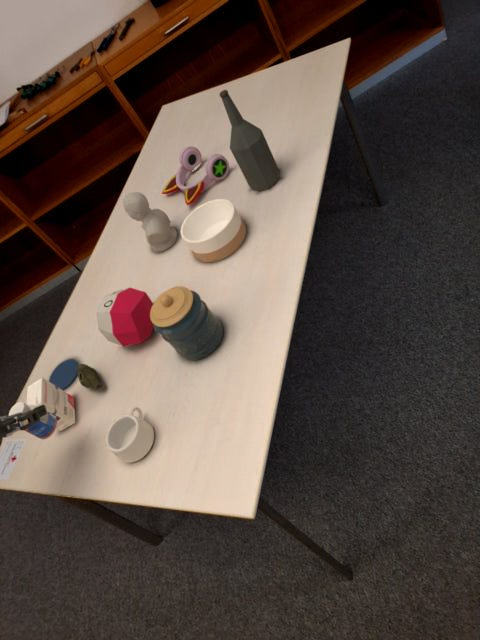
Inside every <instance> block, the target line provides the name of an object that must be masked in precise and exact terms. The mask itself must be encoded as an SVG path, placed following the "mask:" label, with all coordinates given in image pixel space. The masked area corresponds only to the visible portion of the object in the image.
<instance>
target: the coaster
mask: <svg viewBox="0 0 480 640" xmlns="http://www.w3.org/2000/svg"><path fill="white" fill-rule="evenodd" d="M78 365H80V363H79V362H78V361H77V360H75V359H71V358H69V359H66V360H64V361H62V362H60V363H59V364H58V365H57V366H56V367H55V368H54V369H53V371H52V372H51V374H50V377H49V380H48V381H49V382H51V383H52V384H54V385H55V386H57V387H58V388H60V389H61V390H63V391H64V390H67V389H68V388H69V387H70V386H72V384H73V383H74V382H75V380H76V379H77V378H78V373H77V369H78Z"/></svg>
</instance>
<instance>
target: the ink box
mask: <svg viewBox="0 0 480 640" xmlns="http://www.w3.org/2000/svg"><path fill="white" fill-rule="evenodd" d="M26 404H27V405H30V404H31V405H35V406H36V407H38V406H41V405H45V407H46V410H47V413H48V414H50V415H52V416H53V417H55V418H56V419H57V428H56V431H59V432H62V431H63V430H66V428H68V427H70V426H72V425H74V424H75V423H76V411H75V410H76V409H75V397H74V396H73V395H71V394H70V393H68V392H66V391H64V390H61V389H60V388H58V387H57V386H55V385H54V384H52V383H51V382H49V380H47V379H46V378H44V377H40V378H39V379H37V380H36V381H35V382H33V383H30V385H28V386H27V391H26Z"/></svg>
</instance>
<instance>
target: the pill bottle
mask: <svg viewBox="0 0 480 640" xmlns="http://www.w3.org/2000/svg"><path fill="white" fill-rule="evenodd" d="M34 408H36V406H35V405H31V404H30V405H27V403H26V402H25V403H24V402H23V401H19V402H16V403H15V404H14V405H13V406H12V407H11V408H10V410H9V411H8V412H9V413H8V416H10V415H13V414H15V413H19V412H21V413H24V412H27V411H28V410H32V409H34ZM14 418H15V419H16V421H17V417H14ZM56 428H57V419H56V418H55V417H53V416H52V415H50V414H48V413H47V414H46V415H44V416H42V417H40V421H39V422H37V423H35V424H33V425H32V426H30V427H28V428H27V429H25V430H23V431H25V432H26V433H29V434H30V435H32V436H33V437H36V438H37V439H40V440H47V439H49V438H50V437H51V436H52V435H53V434H55V431H57V429H56Z"/></svg>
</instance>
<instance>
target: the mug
mask: <svg viewBox="0 0 480 640" xmlns="http://www.w3.org/2000/svg"><path fill="white" fill-rule="evenodd" d="M135 411H137V413H138V417H137V416H135V415H134V414H135ZM154 431H155V430H154V429H153V426H152V425H151V424H150V423H149V422H147V421H146V420H144V419H143V411H142V409H141V408H140V407H138V406H133V407H132V408H131V410H130V412H129V413H126V414H122V415H120V416H118V417H117V418H116V419H115V420H114V421H112V423H111V424H110V425H109V427H108V429H107V431H106V433H105V446H106V447H107V449H108V450H109V451H110V452H111V453H113V454H114V455H115V456H116V457H117V458H118V459H120V460H121V461H123V462H125V463H135V462H137V461H140V460H142V459H143V458H144V457H146V455H148V453H149V451H150V450H151V448H152V446H153V443H154V439H155V432H154Z"/></svg>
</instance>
